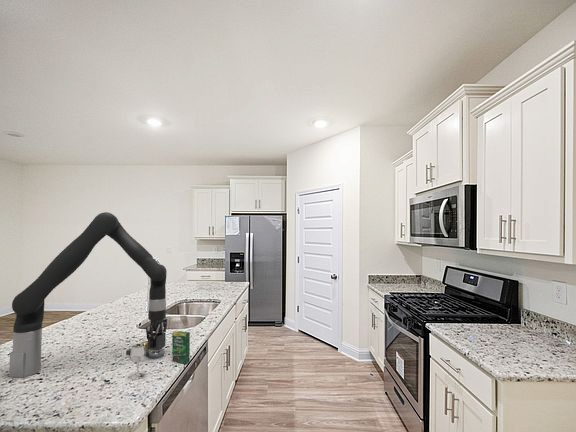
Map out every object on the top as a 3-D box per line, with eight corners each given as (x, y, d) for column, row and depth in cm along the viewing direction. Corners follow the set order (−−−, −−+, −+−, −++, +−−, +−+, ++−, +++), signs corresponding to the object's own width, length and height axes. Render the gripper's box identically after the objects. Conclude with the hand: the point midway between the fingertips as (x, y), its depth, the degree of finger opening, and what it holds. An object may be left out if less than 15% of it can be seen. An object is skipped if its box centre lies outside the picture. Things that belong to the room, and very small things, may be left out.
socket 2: (158, 350, 148) (159, 336, 148) (147, 349, 149) (147, 335, 149) (165, 345, 154) (165, 332, 154) (154, 345, 154) (154, 332, 155)
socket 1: (146, 352, 155) (146, 344, 155) (138, 352, 156) (138, 343, 156) (151, 349, 159) (151, 341, 159) (143, 349, 160) (143, 340, 160)
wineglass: (141, 371, 135) (141, 342, 135) (148, 375, 131) (148, 345, 132) (126, 376, 130) (127, 346, 131) (133, 381, 127) (134, 349, 127)
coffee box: (171, 361, 145) (171, 331, 146) (175, 359, 148) (176, 329, 148) (185, 364, 142) (185, 334, 142) (190, 362, 145) (190, 332, 145)
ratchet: (159, 359, 148) (159, 344, 148) (123, 356, 150) (123, 342, 151) (166, 354, 154) (166, 339, 154) (132, 351, 157) (132, 337, 157)
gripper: (156, 312, 144) (155, 351, 144) (172, 305, 158) (172, 340, 158) (140, 311, 145) (139, 350, 145) (158, 304, 160) (157, 339, 159)
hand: (156, 345), depth 151 cm, fingers closed on socket 2, 5 cm apart
